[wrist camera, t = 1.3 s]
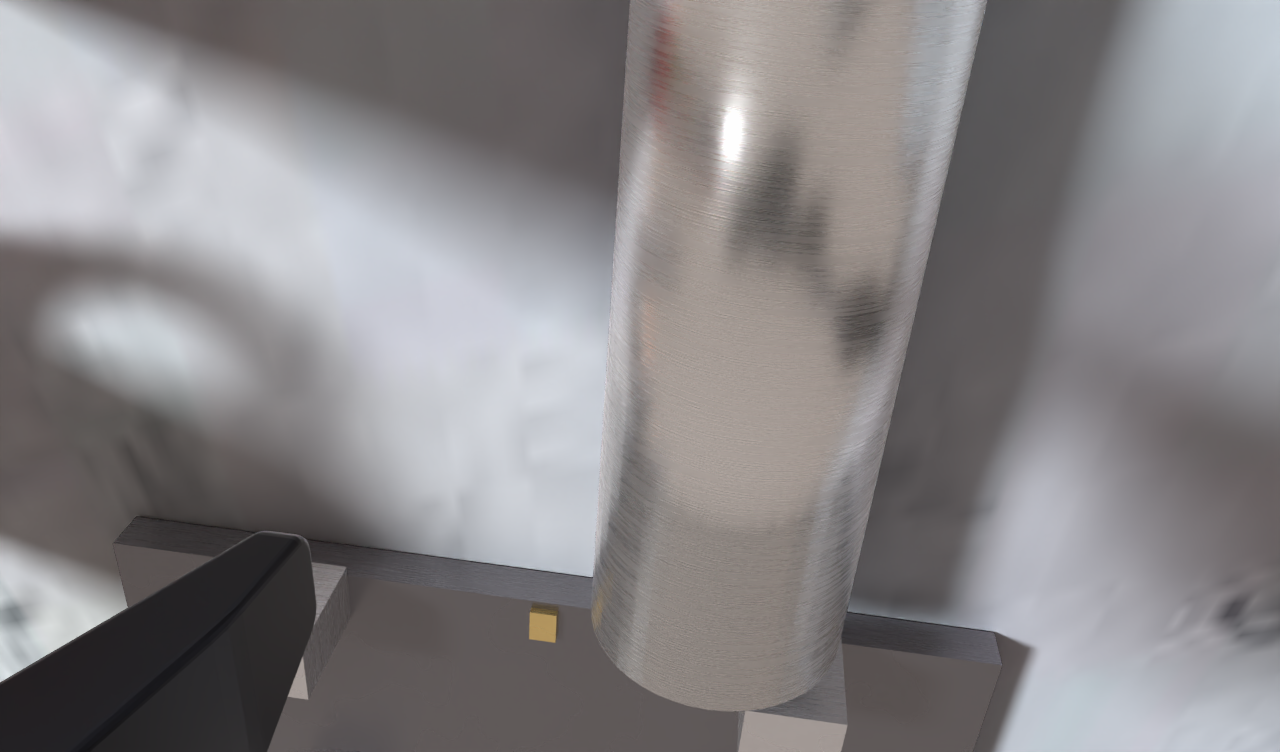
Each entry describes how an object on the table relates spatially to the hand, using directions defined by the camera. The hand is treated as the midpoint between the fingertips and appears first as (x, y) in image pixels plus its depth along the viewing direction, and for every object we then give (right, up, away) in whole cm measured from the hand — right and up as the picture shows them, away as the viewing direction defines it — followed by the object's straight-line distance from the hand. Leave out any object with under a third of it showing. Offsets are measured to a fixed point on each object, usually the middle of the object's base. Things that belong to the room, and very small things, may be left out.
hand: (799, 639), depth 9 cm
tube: (+1, +6, +10) cm, 11 cm away
